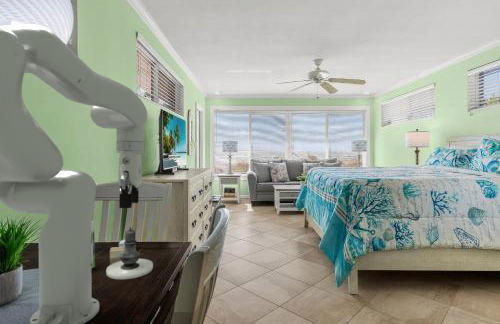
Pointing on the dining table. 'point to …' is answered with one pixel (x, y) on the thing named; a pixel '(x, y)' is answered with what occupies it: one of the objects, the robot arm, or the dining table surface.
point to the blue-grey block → (122, 244)
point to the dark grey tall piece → (130, 251)
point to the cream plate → (118, 273)
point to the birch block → (116, 254)
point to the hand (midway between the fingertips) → (129, 205)
